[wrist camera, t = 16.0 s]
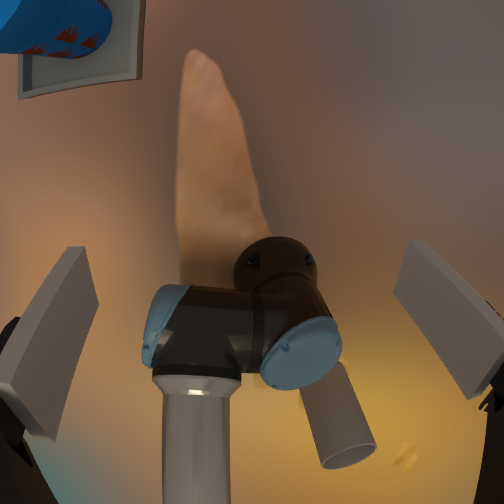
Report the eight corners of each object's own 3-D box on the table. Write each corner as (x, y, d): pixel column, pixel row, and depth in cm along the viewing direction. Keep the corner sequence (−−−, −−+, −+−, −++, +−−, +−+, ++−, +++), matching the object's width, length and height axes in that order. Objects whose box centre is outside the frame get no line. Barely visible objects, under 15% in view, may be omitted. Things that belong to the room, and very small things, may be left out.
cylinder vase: (349, 356, 74) (385, 438, 53) (335, 387, 80) (364, 462, 59) (302, 360, 72) (331, 450, 51) (292, 391, 78) (314, 473, 57)
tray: (142, 79, 40) (136, 78, 36) (30, 97, 37) (18, 99, 34) (150, -35, 30) (145, -44, 27) (36, -9, 28) (25, -14, 24)
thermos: (57, 2, 29) (-38, -34, 8) (119, -7, 31) (48, -70, 10) (47, 63, 34) (-61, 64, 13) (108, 57, 36) (18, 38, 15)
